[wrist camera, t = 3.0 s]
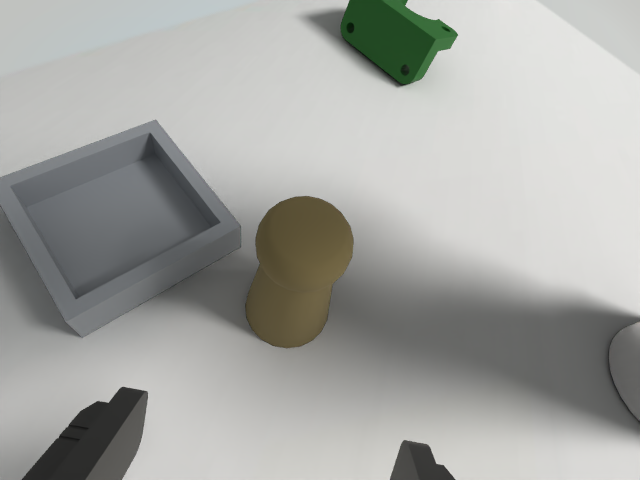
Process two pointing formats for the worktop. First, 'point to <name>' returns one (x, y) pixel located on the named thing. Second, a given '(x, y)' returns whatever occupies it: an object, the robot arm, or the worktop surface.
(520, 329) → the worktop surface
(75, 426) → the robot arm
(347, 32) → the clamp
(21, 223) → the tray
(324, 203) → the cork
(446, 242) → the worktop surface
